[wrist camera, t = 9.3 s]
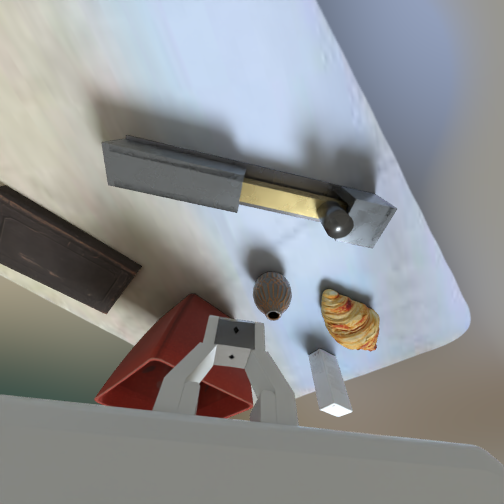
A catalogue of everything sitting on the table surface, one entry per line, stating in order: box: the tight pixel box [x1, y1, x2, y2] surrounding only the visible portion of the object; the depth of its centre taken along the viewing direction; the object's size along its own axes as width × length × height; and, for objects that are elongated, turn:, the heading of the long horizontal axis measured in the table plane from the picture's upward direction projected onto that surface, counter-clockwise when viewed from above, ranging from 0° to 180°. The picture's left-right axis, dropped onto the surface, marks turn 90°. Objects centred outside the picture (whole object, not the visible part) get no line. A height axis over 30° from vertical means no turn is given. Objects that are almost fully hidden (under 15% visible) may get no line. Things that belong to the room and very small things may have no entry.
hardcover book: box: [0, 186, 142, 314], centre depth 39 cm, size 16×23×2 cm
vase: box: [253, 272, 292, 321], centre depth 37 cm, size 7×7×9 cm
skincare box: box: [309, 349, 353, 417], centre depth 49 cm, size 6×4×12 cm
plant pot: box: [94, 294, 253, 419], centre depth 41 cm, size 19×19×17 cm
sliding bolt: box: [239, 178, 354, 239], centre depth 28 cm, size 22×3×7 cm, turn 78°
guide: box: [102, 135, 397, 248], centre depth 29 cm, size 36×6×6 cm, turn 78°
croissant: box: [321, 289, 379, 351], centre depth 43 cm, size 21×10×8 cm, turn 41°
